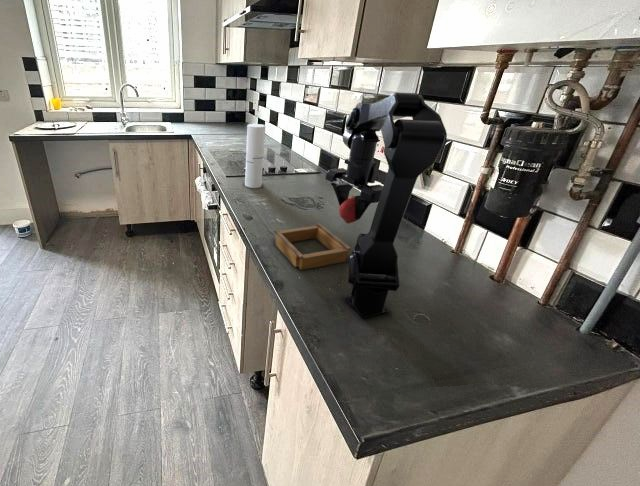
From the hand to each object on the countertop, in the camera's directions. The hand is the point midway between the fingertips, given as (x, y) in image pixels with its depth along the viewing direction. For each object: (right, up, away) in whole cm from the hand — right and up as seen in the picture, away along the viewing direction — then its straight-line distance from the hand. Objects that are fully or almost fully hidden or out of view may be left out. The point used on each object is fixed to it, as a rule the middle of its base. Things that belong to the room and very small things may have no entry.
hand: (350, 214), depth 86 cm
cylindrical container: (-24, +13, +52) cm, 59 cm away
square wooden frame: (-10, -10, +4) cm, 15 cm away
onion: (0, -3, +1) cm, 3 cm away
